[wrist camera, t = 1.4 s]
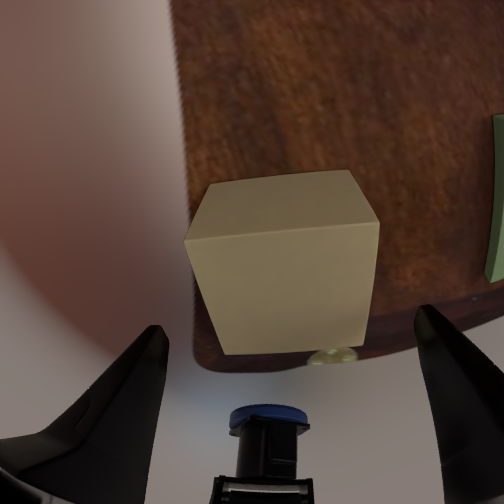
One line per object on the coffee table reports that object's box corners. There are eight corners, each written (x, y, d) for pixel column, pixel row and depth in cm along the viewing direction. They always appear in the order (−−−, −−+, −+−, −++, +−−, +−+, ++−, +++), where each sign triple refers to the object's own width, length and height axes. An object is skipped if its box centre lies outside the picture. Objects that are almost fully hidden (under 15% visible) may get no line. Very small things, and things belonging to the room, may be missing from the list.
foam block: (347, 277, 15) (363, 345, 12) (235, 286, 16) (224, 355, 12) (348, 168, 12) (380, 222, 8) (209, 183, 13) (181, 240, 9)
